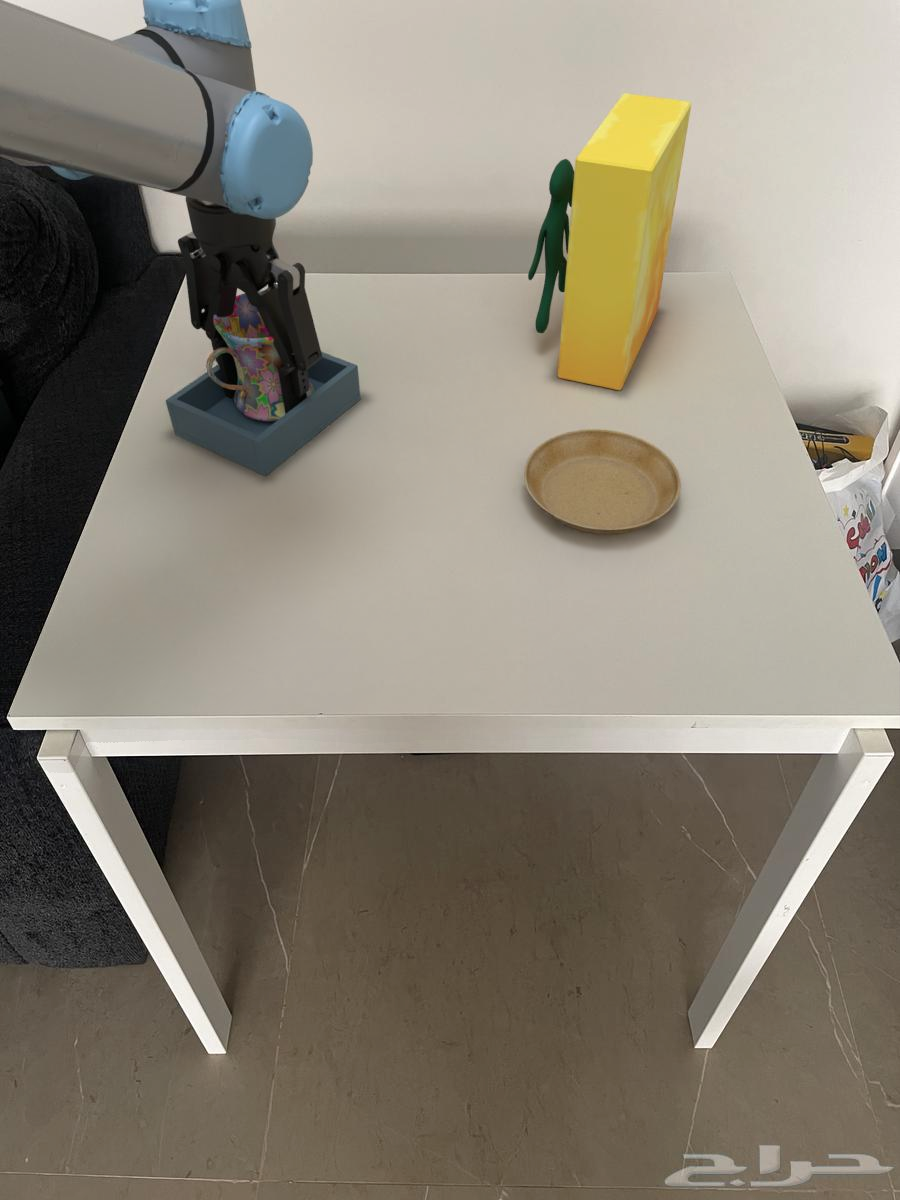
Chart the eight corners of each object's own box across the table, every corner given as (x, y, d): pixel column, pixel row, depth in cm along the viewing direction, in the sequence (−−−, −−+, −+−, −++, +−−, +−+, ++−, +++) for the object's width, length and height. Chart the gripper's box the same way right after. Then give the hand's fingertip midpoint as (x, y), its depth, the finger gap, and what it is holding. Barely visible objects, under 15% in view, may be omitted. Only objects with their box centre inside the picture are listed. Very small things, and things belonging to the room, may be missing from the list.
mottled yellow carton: (558, 294, 117) (575, 86, 100) (657, 312, 114) (692, 100, 97) (513, 369, 106) (522, 150, 89) (620, 391, 103) (652, 168, 86)
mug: (278, 368, 105) (264, 280, 98) (337, 400, 101) (327, 310, 94) (193, 418, 99) (171, 328, 92) (252, 454, 95) (234, 363, 87)
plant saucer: (634, 437, 98) (638, 416, 96) (704, 528, 88) (709, 507, 86) (500, 467, 95) (501, 446, 93) (558, 565, 85) (560, 544, 83)
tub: (174, 434, 99) (165, 400, 96) (272, 363, 108) (267, 330, 104) (265, 476, 94) (258, 442, 91) (360, 399, 103) (357, 365, 100)
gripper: (346, 200, 81) (366, 418, 98) (173, 147, 89) (219, 357, 106) (289, 234, 77) (321, 456, 94) (113, 176, 85) (171, 390, 102)
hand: (267, 403), depth 100 cm, fingers closed on mug, 8 cm apart
